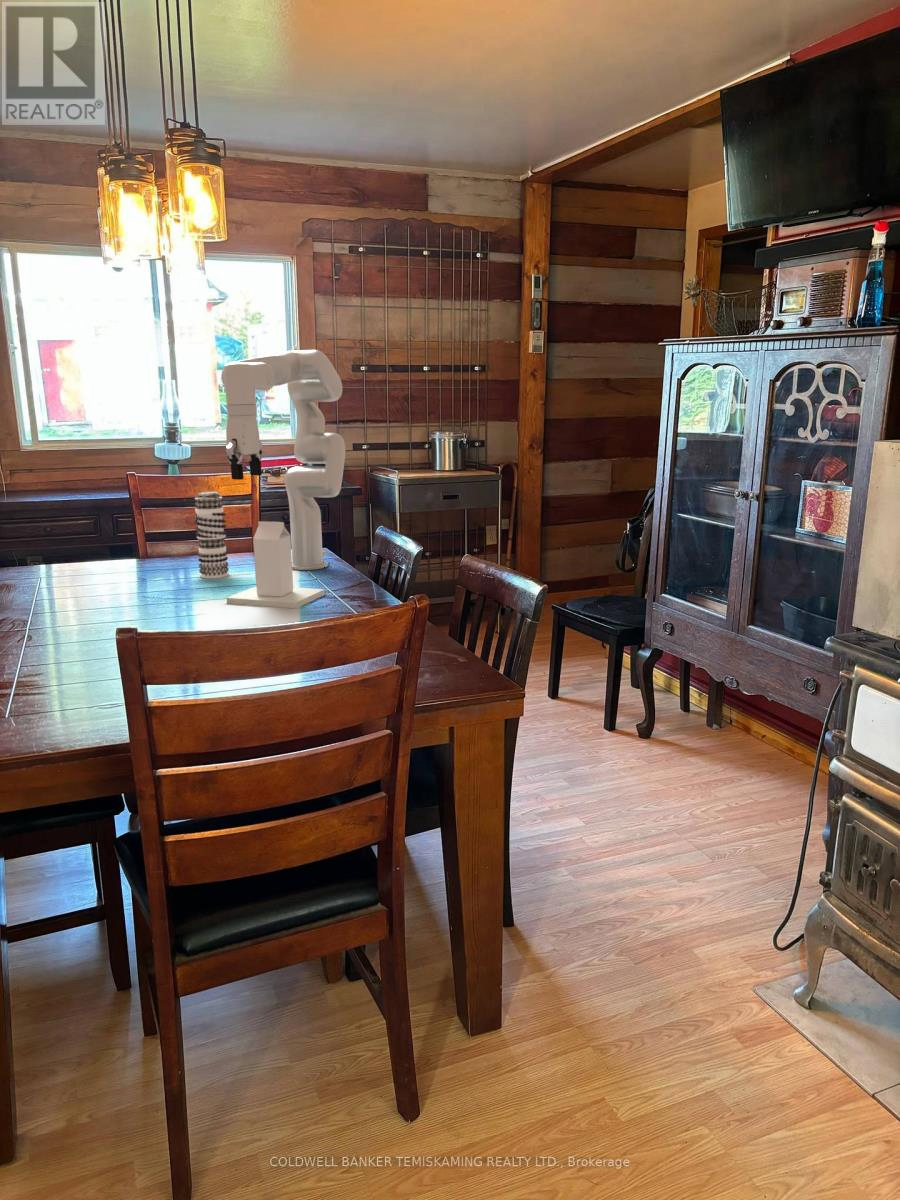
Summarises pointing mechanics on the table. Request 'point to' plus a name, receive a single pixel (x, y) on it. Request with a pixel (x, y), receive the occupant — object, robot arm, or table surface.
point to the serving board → (276, 598)
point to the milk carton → (273, 559)
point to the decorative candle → (211, 535)
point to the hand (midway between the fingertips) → (247, 477)
